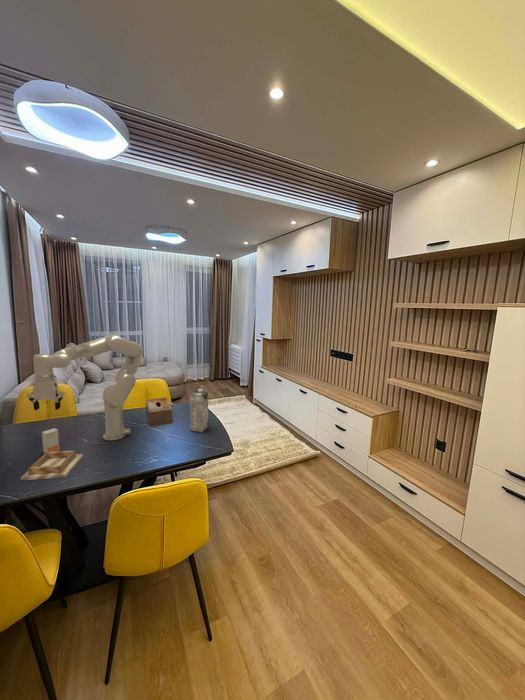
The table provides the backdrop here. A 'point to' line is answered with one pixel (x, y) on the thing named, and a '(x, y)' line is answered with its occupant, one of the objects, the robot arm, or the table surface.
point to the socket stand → (53, 465)
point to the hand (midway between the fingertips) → (47, 409)
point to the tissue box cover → (158, 411)
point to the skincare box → (50, 440)
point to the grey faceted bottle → (198, 410)
